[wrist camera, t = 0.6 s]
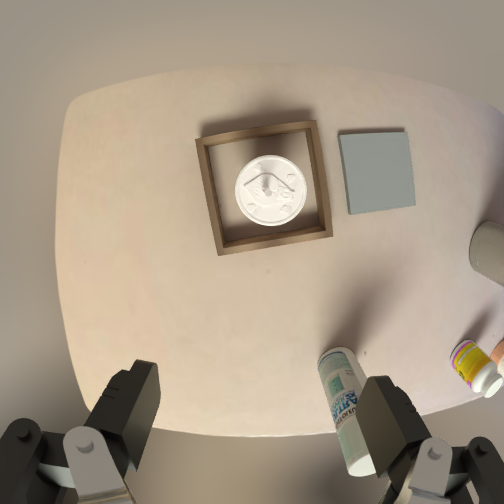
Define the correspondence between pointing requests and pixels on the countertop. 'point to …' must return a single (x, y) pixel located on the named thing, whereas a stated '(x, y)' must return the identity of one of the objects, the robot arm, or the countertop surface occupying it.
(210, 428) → the countertop surface
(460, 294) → the countertop surface
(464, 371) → the supplement bottle
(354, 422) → the spray can
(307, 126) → the frame
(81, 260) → the countertop surface
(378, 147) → the mat
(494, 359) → the salt shaker
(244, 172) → the smoothie
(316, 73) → the countertop surface
